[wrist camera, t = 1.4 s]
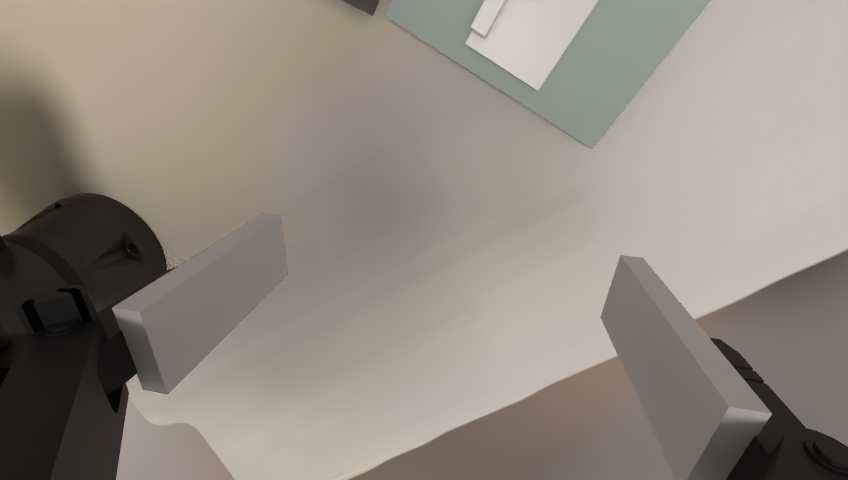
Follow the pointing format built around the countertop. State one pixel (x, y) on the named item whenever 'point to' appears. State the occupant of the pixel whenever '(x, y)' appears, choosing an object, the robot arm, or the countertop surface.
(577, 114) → the socket plate
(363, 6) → the plug
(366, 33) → the countertop surface
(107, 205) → the robot arm
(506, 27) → the panel
